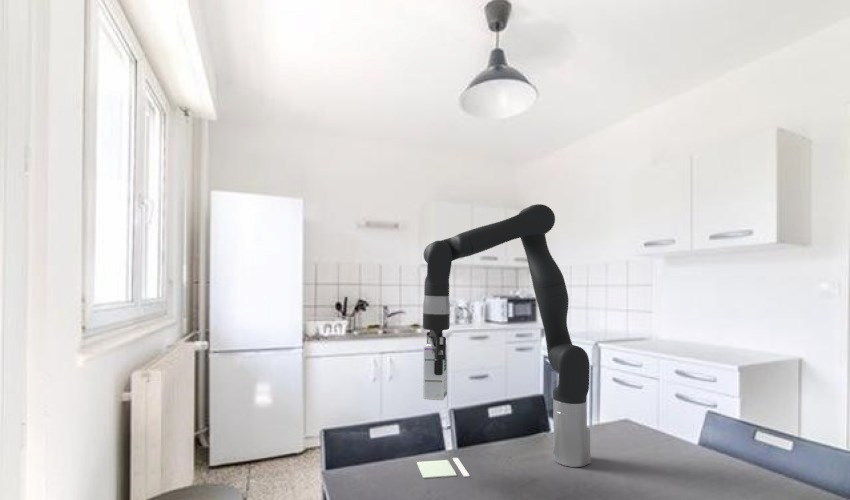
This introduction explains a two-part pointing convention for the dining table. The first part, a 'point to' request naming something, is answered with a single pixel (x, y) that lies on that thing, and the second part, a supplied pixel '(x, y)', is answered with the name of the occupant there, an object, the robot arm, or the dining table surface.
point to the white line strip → (461, 467)
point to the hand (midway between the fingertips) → (435, 372)
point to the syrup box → (433, 376)
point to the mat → (436, 469)
